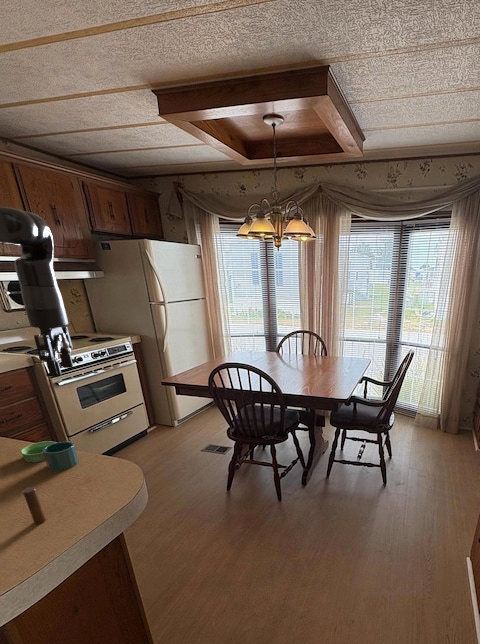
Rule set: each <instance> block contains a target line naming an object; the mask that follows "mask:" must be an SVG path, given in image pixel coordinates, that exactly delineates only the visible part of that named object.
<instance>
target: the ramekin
mask: <svg viewBox="0 0 480 644" xmlns="http://www.w3.org/2000/svg"><path fill="white" fill-rule="evenodd" d="M54 443H57V442H56V441H52V440H46V441H45V440H44V441H38V442H35V443H31V444H29V445H26V446H24V447H23V448H22V449H21V450H20V454H21V455H22V457H23V458H24V460H25V461H26V462H28V463H38V462H43V461H46V460H45V457H44V454H43V449H44V448H45V447H46V446H48V445H51V444H54Z"/></svg>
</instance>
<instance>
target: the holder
mask: <svg viewBox="0 0 480 644" xmlns="http://www.w3.org/2000/svg"><path fill="white" fill-rule="evenodd" d="M42 452H43V454H44V457H45V460H44V461H45V463H46V466H47V469H48V470H49V471H51V472H61V471H65V470H70V469H72V468H74V467H76V466H77V465H78V464H79V461H80V460H79V456H78V454H77V450H76V446H75V443H74V442H73V441H58V442H56V443H54V444H51V445H48V446H46V447H45V448H44V449H43V451H42Z"/></svg>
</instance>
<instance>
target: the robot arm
mask: <svg viewBox="0 0 480 644" xmlns="http://www.w3.org/2000/svg"><path fill="white" fill-rule="evenodd" d="M0 244H8V245H9V244H10V245H18V246H20V251H21V256H20V257H18V258H16V259H15V260H14V269H15V273H16V276H17V279H18V284H19V287H20V294H21V298H22V302H23V305H24V309H25V313H26V316H27V319H28V323H29V325H30V327H32V328H35V329H36V328H37V329H39V333H40V334H34V335H33V338H34V343H35V346H36V350H37V354H38V358H39V361H40V362H45V363H46V366H47V370H48V373H49V376H50V377H52V378H53V377H55V378H58V377H61V376H62V370H61V366H60V363H59V358H60V361H61V364H62V368H64V369H71V368H73V367H74V362H73V359H72V355H71V353H72V350H73V349H74V346H73V342H72V340H71V336H70V332H69V328H68V325H69V319H68V314H67V311H66V307H65V304H64V299H63V296H62V293H61V290H60V289H59V285H58V284H59V283H58V280H57V275H56V273H55V269H54V237H53V234H52V231H51V229H50V226H49V224H48V223H47V221H45V219H44V218H43V217H41V216H40V215H39V214H37V213H34V212H31V211H27V210H23V209H19V208H16V207H15V208H14V207H10V206H9V207H8V206H0ZM58 357H59V358H58Z"/></svg>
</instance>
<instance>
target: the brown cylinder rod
mask: <svg viewBox="0 0 480 644" xmlns="http://www.w3.org/2000/svg"><path fill="white" fill-rule="evenodd" d="M22 494H23V497H24V499H25V501H26V505H27V507H28V510H29V513H30V515H31V518H32V520H33V521H32V522H33V524H34V525H41V524H43V523H45V522H46V520H47V518H46V515H45V512H44V510H43V507H42V504H41V501H40V498H39V495H38V493H37V490H36V487H34V486H33V487H28V488H25V489H24V490H23V491H22Z"/></svg>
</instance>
